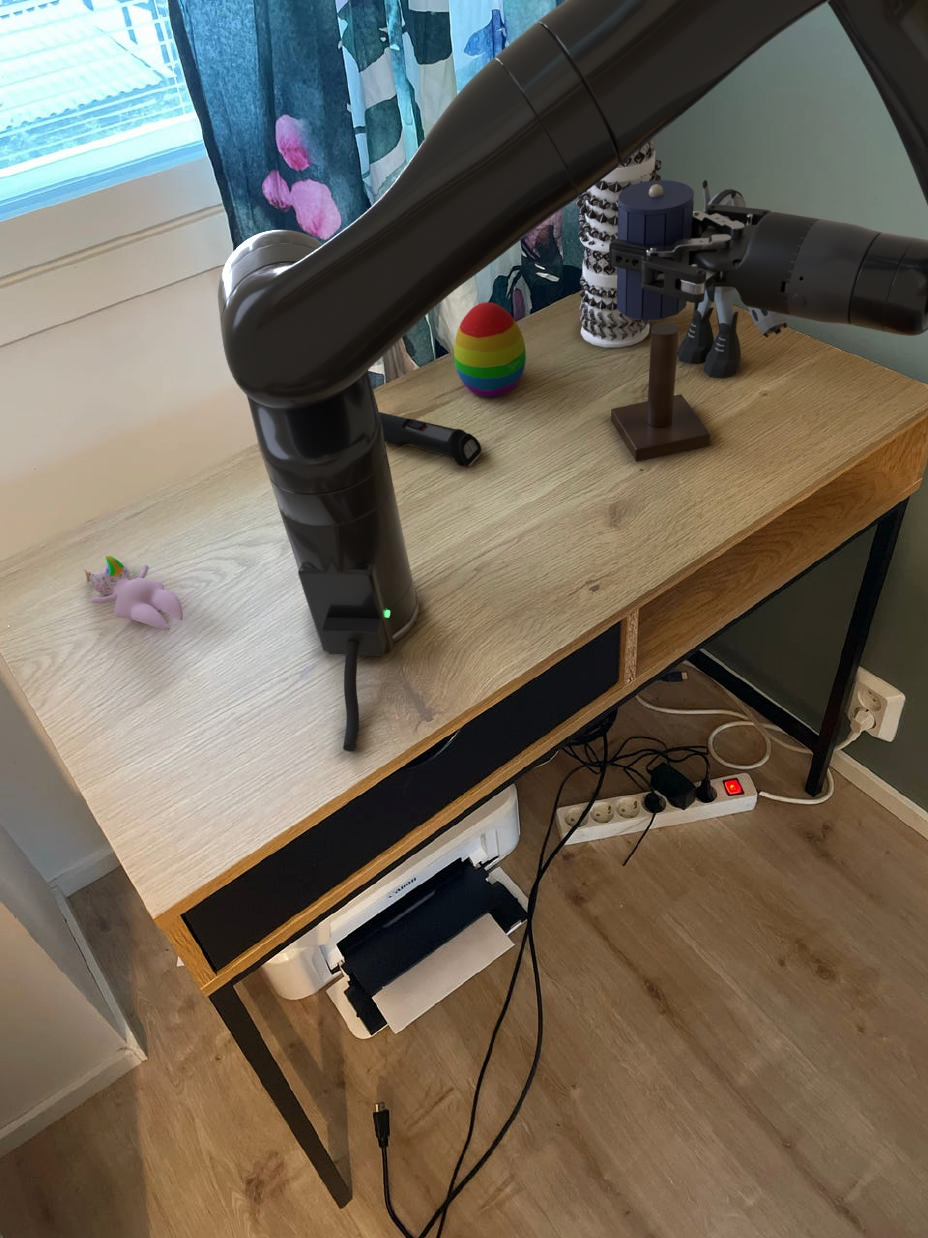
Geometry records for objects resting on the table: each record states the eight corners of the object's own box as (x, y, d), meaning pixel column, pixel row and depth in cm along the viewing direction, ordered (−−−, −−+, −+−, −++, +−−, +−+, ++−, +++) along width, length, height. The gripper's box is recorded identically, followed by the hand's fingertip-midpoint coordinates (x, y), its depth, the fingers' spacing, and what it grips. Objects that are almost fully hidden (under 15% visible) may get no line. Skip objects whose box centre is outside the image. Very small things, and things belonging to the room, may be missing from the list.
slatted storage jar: (687, 319, 82) (696, 197, 74) (616, 321, 83) (617, 201, 75) (685, 286, 86) (693, 168, 79) (617, 289, 87) (619, 172, 80)
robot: (789, 386, 99) (822, 199, 85) (757, 402, 97) (786, 215, 83) (666, 324, 111) (677, 151, 97) (636, 337, 109) (642, 165, 95)
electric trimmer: (369, 421, 103) (363, 396, 101) (484, 451, 96) (481, 425, 94) (349, 438, 101) (343, 414, 99) (466, 470, 94) (462, 445, 92)
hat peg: (709, 445, 93) (721, 339, 84) (635, 461, 92) (639, 356, 84) (680, 405, 98) (688, 302, 90) (610, 420, 98) (612, 317, 89)
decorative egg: (535, 395, 103) (531, 313, 96) (466, 410, 102) (457, 329, 95) (516, 360, 109) (511, 281, 101) (451, 374, 108) (441, 295, 101)
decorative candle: (667, 335, 109) (682, 109, 91) (599, 356, 107) (600, 130, 89) (630, 305, 115) (637, 88, 97) (565, 324, 113) (560, 107, 96)
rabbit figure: (81, 604, 88) (153, 659, 78) (51, 556, 84) (121, 606, 74) (136, 570, 91) (211, 618, 81) (109, 521, 87) (184, 566, 77)
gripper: (852, 188, 74) (670, 163, 82) (780, 260, 67) (588, 225, 75) (836, 276, 80) (666, 244, 88) (767, 351, 72) (589, 309, 80)
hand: (631, 236), depth 81 cm, fingers closed on slatted storage jar, 6 cm apart
